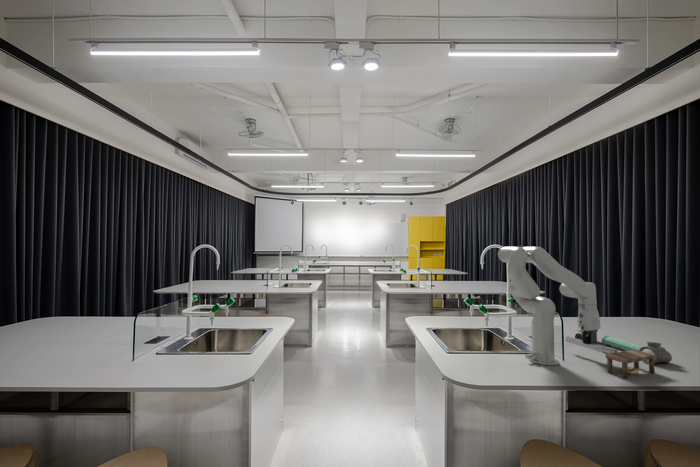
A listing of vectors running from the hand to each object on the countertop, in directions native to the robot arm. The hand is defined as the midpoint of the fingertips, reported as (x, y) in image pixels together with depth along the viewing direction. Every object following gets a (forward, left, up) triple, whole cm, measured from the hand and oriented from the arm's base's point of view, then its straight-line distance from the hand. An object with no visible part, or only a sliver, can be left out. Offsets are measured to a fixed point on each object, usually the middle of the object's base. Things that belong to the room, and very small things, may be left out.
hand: (589, 343), depth 164 cm
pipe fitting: (+25, -14, -8) cm, 30 cm away
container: (+31, +2, -9) cm, 33 cm away
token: (-1, -18, -8) cm, 20 cm away
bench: (-1, -18, -8) cm, 20 cm away
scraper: (0, 0, -2) cm, 2 cm away
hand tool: (+20, +14, -8) cm, 26 cm away
